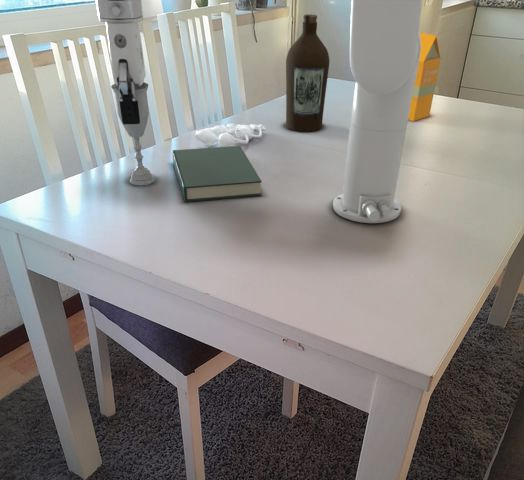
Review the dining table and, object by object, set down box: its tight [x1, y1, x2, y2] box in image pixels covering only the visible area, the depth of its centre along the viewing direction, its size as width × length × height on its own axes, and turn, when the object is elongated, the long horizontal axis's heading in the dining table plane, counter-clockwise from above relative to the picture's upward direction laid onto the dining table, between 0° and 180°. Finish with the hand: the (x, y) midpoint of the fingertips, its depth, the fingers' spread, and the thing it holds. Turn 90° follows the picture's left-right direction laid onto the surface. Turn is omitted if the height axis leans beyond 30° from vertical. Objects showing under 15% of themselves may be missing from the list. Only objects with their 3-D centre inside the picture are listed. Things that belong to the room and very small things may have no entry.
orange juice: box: [408, 32, 441, 122], centre depth 145 cm, size 8×9×20 cm
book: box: [171, 145, 262, 203], centre depth 112 cm, size 21×15×3 cm
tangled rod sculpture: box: [194, 123, 267, 147], centre depth 131 cm, size 19×14×4 cm
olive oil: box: [285, 13, 330, 133], centre depth 134 cm, size 11×11×25 cm
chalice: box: [110, 81, 155, 186], centre depth 106 cm, size 7×7×18 cm
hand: (133, 116), depth 104 cm, fingers open, 8 cm apart
